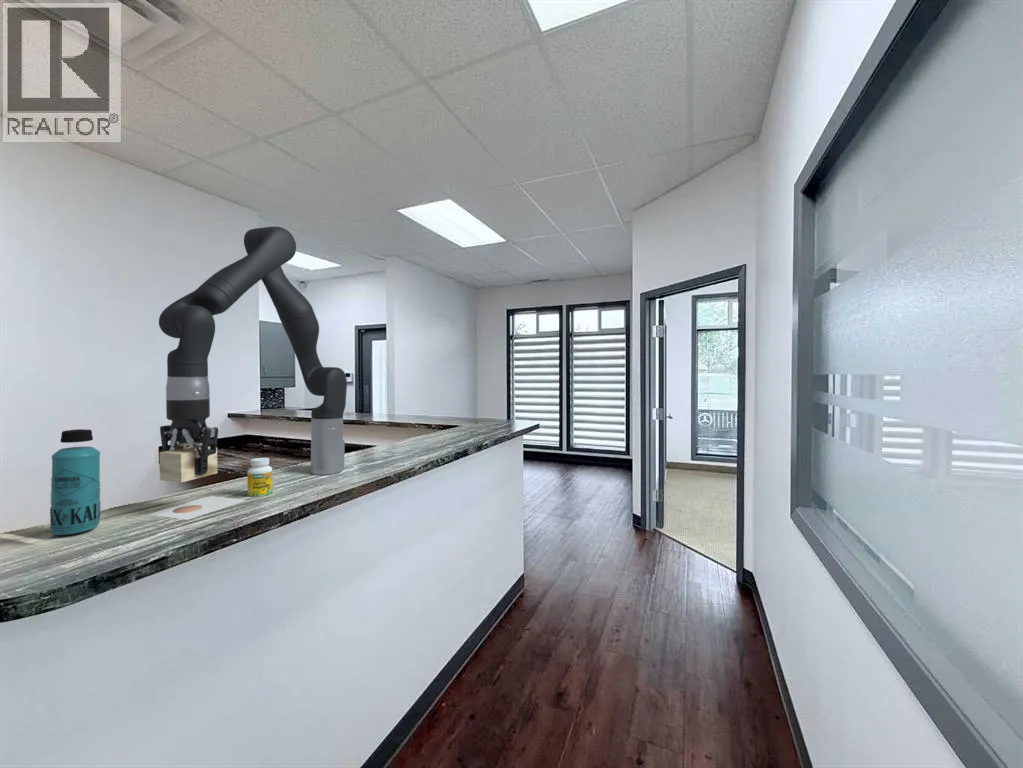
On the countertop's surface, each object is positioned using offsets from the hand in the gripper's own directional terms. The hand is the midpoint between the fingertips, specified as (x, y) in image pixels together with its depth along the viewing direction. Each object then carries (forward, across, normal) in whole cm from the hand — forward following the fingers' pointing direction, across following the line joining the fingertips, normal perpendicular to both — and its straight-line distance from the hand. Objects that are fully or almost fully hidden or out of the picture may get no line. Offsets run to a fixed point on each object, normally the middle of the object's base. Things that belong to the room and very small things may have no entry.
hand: (189, 473), depth 91 cm
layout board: (+9, -1, -2) cm, 9 cm away
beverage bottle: (+9, +6, +16) cm, 20 cm away
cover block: (+1, 0, 0) cm, 1 cm away
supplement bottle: (+9, -5, -14) cm, 17 cm away
